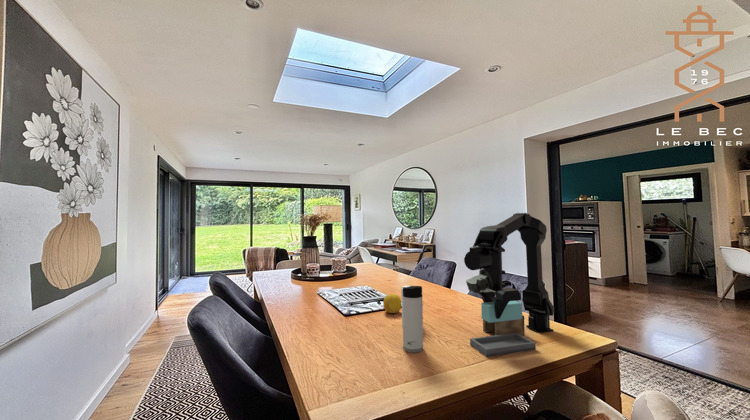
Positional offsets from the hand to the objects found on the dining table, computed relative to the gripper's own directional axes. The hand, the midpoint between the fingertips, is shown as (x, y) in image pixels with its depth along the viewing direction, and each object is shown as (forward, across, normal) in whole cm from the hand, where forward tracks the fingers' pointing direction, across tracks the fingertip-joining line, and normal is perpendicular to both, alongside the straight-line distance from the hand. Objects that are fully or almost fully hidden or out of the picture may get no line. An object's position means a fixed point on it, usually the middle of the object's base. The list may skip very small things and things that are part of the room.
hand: (493, 316), depth 95 cm
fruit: (+10, -44, -20) cm, 49 cm away
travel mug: (+10, -7, -25) cm, 27 cm away
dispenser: (+10, -10, +11) cm, 18 cm away
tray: (+10, 0, +3) cm, 11 cm away
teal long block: (+1, 0, +3) cm, 3 cm away
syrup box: (+10, -28, -18) cm, 34 cm away
